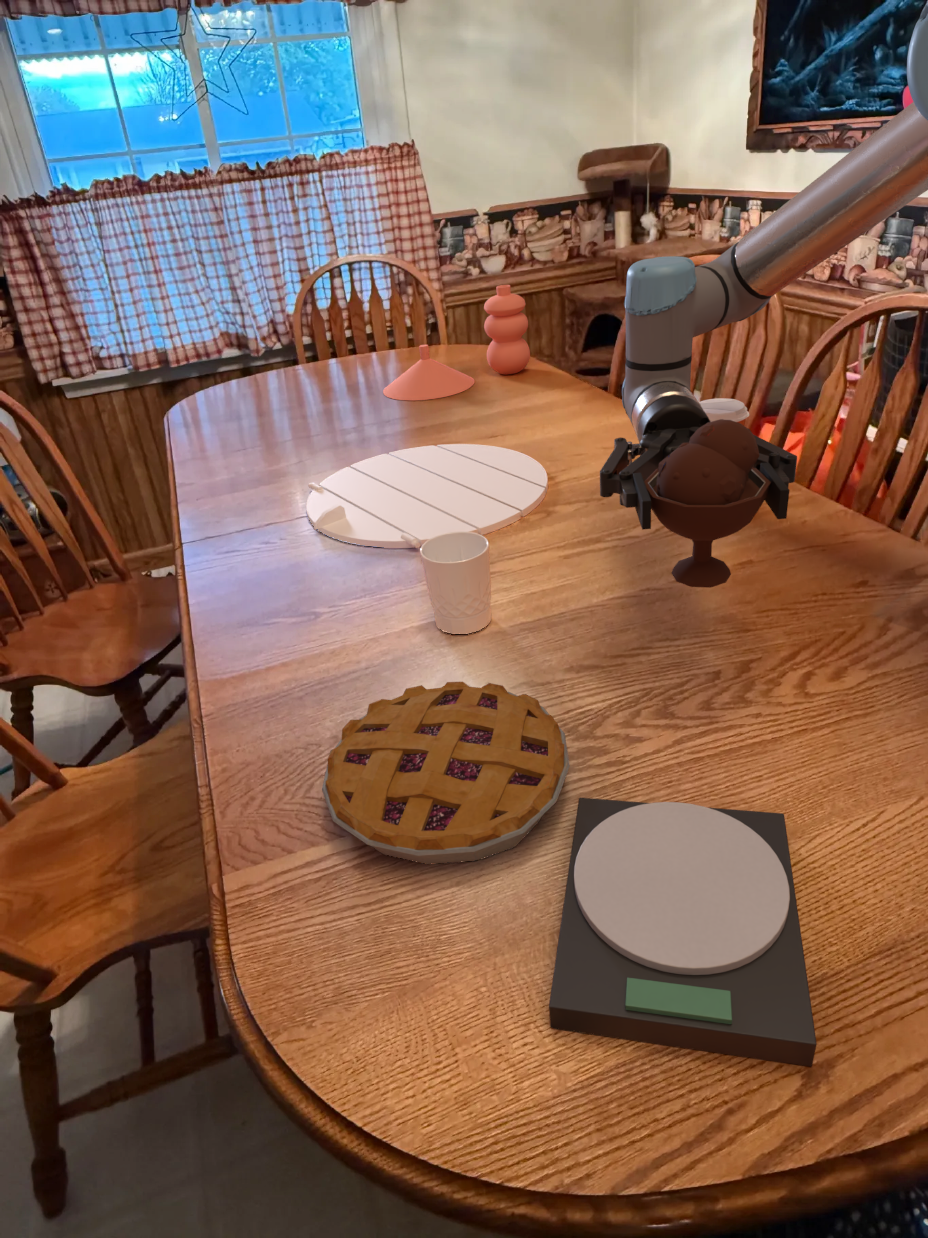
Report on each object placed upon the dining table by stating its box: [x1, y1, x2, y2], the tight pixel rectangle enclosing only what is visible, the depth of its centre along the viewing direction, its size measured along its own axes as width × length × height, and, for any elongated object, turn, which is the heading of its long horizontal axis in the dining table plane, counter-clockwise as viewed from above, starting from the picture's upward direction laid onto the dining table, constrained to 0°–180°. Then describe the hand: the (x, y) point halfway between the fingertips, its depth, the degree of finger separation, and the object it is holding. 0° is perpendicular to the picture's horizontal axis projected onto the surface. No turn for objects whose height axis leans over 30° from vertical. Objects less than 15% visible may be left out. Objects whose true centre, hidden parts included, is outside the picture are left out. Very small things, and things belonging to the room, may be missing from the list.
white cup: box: [419, 532, 492, 634], centre depth 96 cm, size 8×8×10 cm
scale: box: [548, 797, 818, 1067], centre depth 59 cm, size 16×19×3 cm
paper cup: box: [698, 397, 750, 427], centre depth 116 cm, size 8×8×14 cm
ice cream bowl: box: [644, 419, 771, 588], centre depth 75 cm, size 11×11×15 cm
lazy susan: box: [305, 443, 549, 549], centre depth 132 cm, size 40×39×3 cm
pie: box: [321, 681, 570, 865], centre depth 73 cm, size 22×22×5 cm
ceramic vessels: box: [382, 284, 531, 401], centre depth 184 cm, size 35×21×19 cm, turn 105°
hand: (714, 510), depth 71 cm, fingers closed on ice cream bowl, 11 cm apart
